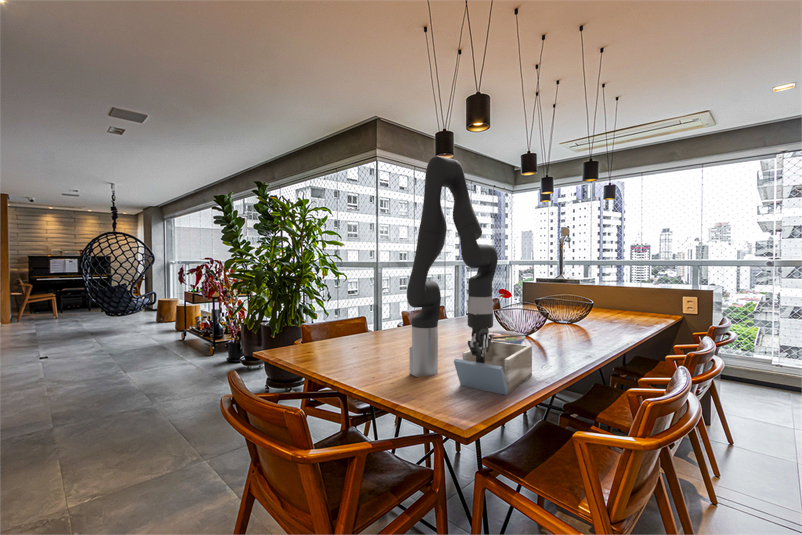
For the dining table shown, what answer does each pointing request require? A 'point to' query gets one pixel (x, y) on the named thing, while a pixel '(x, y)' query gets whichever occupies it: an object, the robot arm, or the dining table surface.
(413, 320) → the robot arm
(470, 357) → the crate
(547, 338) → the dining table surface
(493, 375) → the grey panel
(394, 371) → the dining table surface
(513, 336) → the ramen bowl
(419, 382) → the dining table surface
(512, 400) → the dining table surface
